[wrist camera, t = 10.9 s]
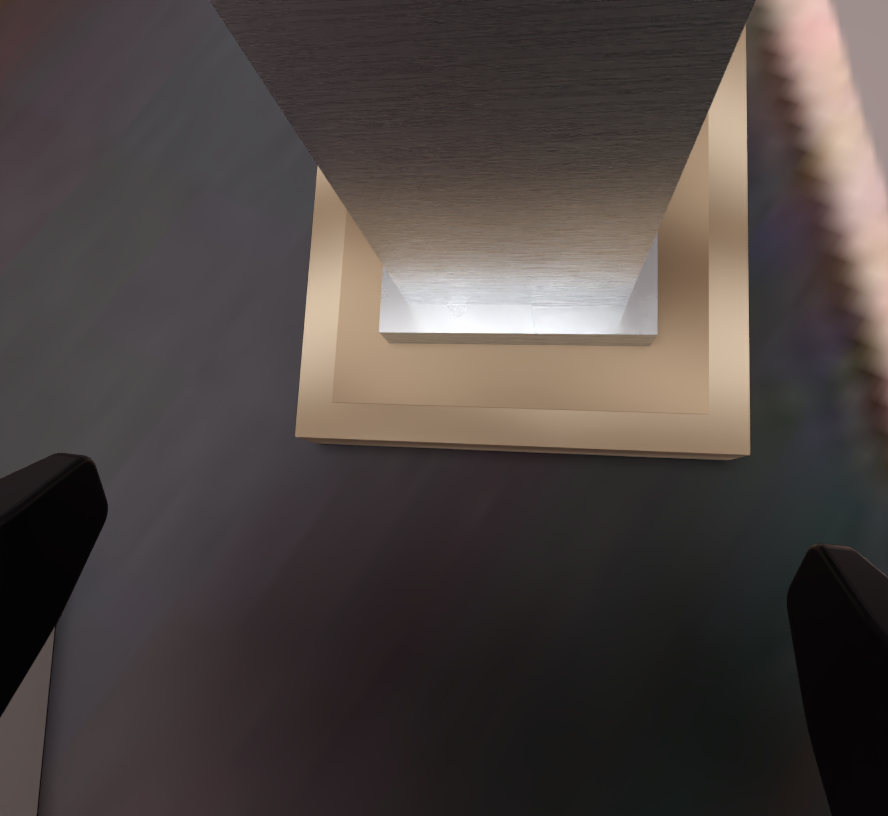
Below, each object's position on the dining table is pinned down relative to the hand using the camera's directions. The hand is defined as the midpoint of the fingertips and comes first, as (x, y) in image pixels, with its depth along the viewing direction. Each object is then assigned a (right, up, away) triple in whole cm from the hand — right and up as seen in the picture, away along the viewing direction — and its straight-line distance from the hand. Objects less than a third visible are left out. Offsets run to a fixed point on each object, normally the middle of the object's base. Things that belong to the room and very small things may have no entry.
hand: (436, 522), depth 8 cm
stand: (+2, +6, +12) cm, 14 cm away
